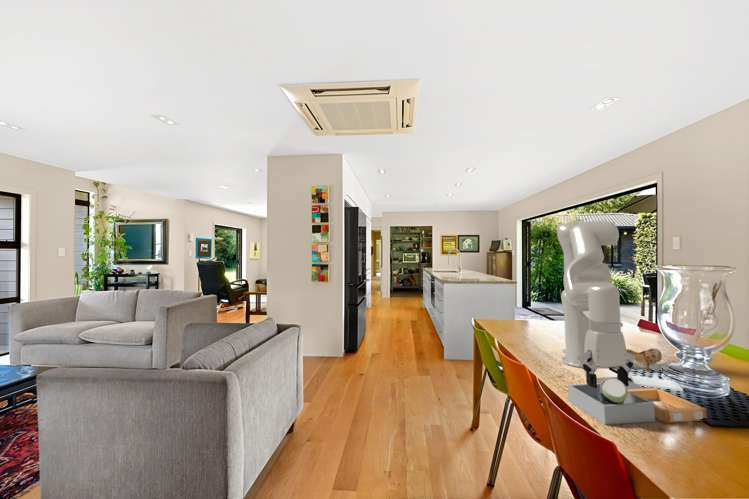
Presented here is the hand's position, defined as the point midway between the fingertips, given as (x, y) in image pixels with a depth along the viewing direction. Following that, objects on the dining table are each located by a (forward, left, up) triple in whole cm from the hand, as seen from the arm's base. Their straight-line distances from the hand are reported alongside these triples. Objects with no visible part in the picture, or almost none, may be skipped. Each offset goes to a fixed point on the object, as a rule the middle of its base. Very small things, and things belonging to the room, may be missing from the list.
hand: (607, 385), depth 93 cm
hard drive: (-15, +30, -8) cm, 35 cm away
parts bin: (0, 0, -7) cm, 7 cm away
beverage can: (-1, +2, -5) cm, 6 cm away
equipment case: (-6, +16, -7) cm, 18 cm away
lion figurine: (-30, +39, -8) cm, 50 cm away
